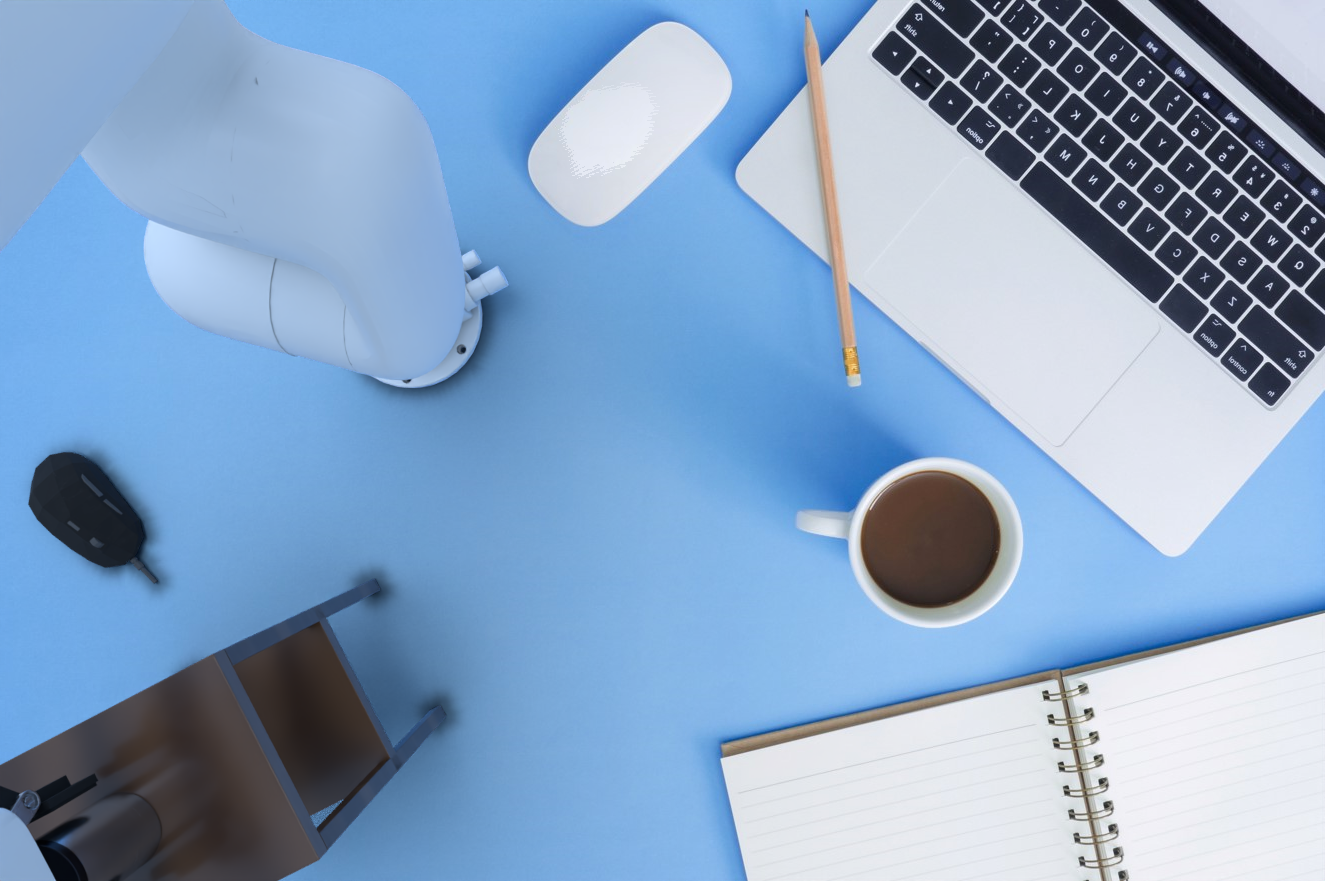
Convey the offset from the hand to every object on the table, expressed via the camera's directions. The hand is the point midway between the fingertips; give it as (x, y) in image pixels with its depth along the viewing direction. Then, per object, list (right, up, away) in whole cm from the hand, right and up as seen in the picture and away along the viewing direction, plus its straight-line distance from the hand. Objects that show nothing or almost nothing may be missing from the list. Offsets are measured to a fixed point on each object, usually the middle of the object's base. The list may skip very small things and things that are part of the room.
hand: (103, 844), depth 52 cm
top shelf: (0, 0, +3) cm, 3 cm away
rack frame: (+1, +1, +28) cm, 28 cm away
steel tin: (0, 0, +2) cm, 2 cm away
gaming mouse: (-18, +16, +29) cm, 38 cm away
